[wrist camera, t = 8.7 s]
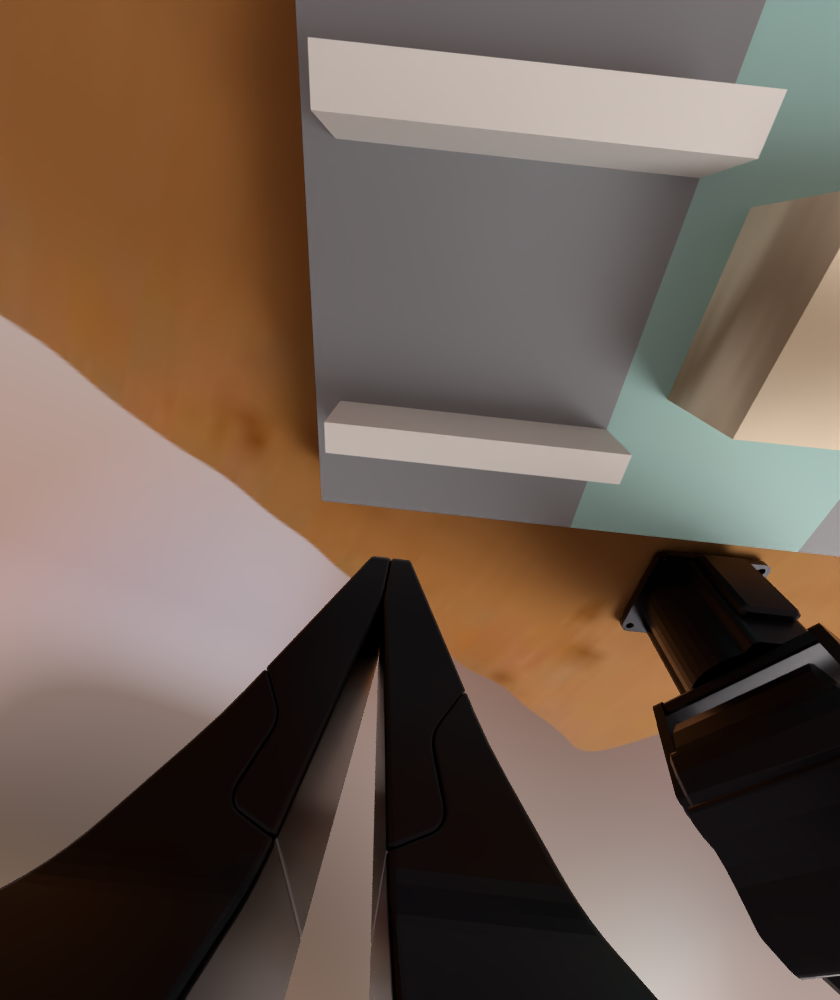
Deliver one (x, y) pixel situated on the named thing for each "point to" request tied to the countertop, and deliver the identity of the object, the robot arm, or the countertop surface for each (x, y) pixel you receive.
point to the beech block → (773, 331)
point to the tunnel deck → (553, 253)
